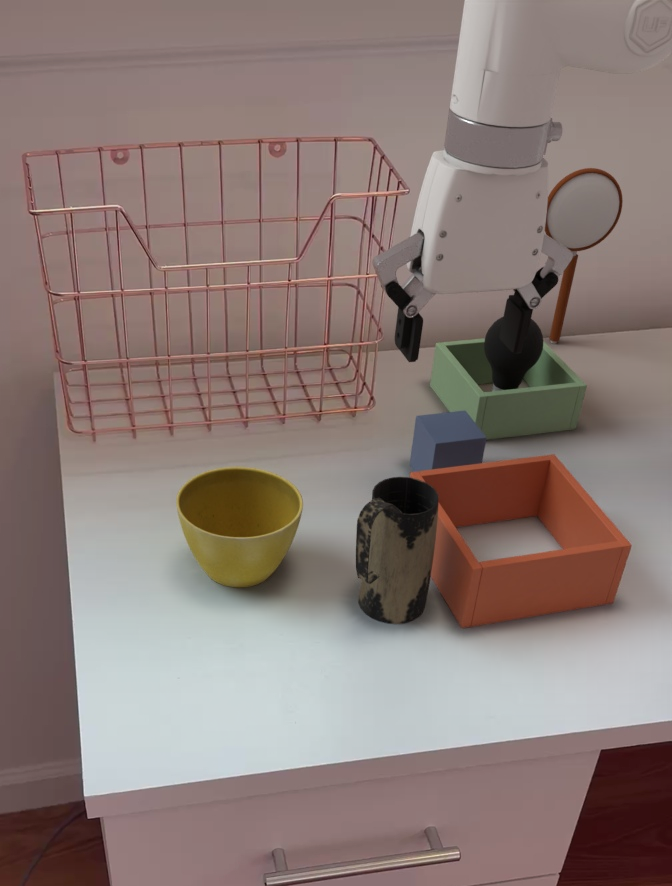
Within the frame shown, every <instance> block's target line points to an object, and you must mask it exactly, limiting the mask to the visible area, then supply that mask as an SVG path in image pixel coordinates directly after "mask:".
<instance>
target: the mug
mask: <svg viewBox="0 0 672 886" xmlns="http://www.w3.org/2000/svg"><path fill="white" fill-rule="evenodd" d="M371 495H372V496H371V500H370V501H369V502H367V503H366V504H365V505H364V506H363V508H362V509H361V510H360V512H359V515H358V517H357V519H356V536H355V537H356V538H355V570H356V575H357V579H359V580H361V583H360V586H359V587H360V588H359V592H358V596H357V597H358V598H357V600H358V601H357V603H358V605H359V608H360V609H361V611H362V612H363V613H364V614H365V615H366V616H368V617H369V618H370V619H372V620H374V621H377V622H380V623H384V624H390V625H400V624H401V625H402V624H406V623H410V622H413V621H415V620H416V619H418V618H420V617H421V615H422V614H423V613H424V610H425V608H426V604H427V598H428V595H429V590H430V582H431V570H432V564H433V557H434V549H435V540H436V530H437V521H438V502H439V498H438V494H437V492H436V490H435V489H434V488H433V487H432V486H431V485H429V484H427V483H426V482H424V481H421V480H418V479H415V478H410V476H409V477H408V476H394V477H388V478H385V479H382V480H381V481H378V483H377V484H375V485H374V487H373V488H372V492H371Z"/></svg>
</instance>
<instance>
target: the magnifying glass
mask: <svg viewBox="0 0 672 886" xmlns="http://www.w3.org/2000/svg"><path fill="white" fill-rule="evenodd" d="M623 201H624V200H623V193H622V189H621V187H620V184H619V183H618V181H617V180H616V178H615V177H614V176H613V175H612V174H611V173H609V172H607V171H606V170H603V169H600V168H596V167H595V168H594V167H585V168H581V169H578V170H574V171H573V172H571V173H569V174H567V175H566V176H565V177H563V178H562V179H561V180H560V181H558V182H557V183H556V184H555V186H554V187H553V188H552V190H551V191H550V192H549V193H548V202H547V214H546V224H545V231H544V234H546V235H547V236H549V237H551V238H552V239H554V240H556V241H557V242H559V243H561V244H562V245H564V246H565V247H567V248H568V249H569V250H570V251H571V252H572V253H573V258H572V260H571V261H570V263H569V264H568V266H567V267H566V269H565V270H564V272H563V273H562V277H561V280H560V281H561V282H560V286H559V291H558V296H557V301H556V305H555V310H554V314H553V319H552V323H551V328H550V333H549V337H548V339H549V341H550V343H551V344H555V345H556V344H557V343H558V342H560V339H561V335H562V330H563V326H564V321H565V317H566V312H567V308H568V305H569V304H568V303H569V298H570V295H571V289H572V286H573V281H574V278H575V277H574V276H575V272H576V267H577V262H578V259H579V254H578V252H582V251H586V250H589V249H592V248H594V247H595V246H597V245H599V244H600V243H602V242H603V241H605V239H606V238H607V237H609V235H610V234H611V233H612V232H613V230H614V229H615V227H616V225H617V224H618V222H619V220H620V218H621V214H622V210H623Z"/></svg>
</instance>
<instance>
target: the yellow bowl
mask: <svg viewBox="0 0 672 886" xmlns="http://www.w3.org/2000/svg"><path fill="white" fill-rule="evenodd" d="M175 507H176V511H177V515H178V520H179V523H180V527H181V530H182V534H183V536H184V538H185V541H186V543H187V545H188V547H189V550H190V552H191V553H192V556H193V557H194V558H195V560H196V562H197V563H198V565H199V566H200V568H201V569H202V570H203V571H204V572H205V574H206V575H207V576H208V577H209V578H210V579H211V580H212V581H214V582H215V583H217V584H220V585H222V586H225V587H230V588H250V587H254V586H257V585H259V584H261V583H263V582H265V581H266V580H267V579H269V578H270V576H272V574H273V573H274V572H275V571H276V570H277V568H279V565H280V564H282V562H283V560H284V558H285V556H286V555H287V553H288V551H289V550H290V548H291V545H292V543H293V541H294V539H295V536H296V534H297V531H298V529H299V525H300V522H301V518H302V514H303V510H304V500H303V496H302V494H301V492H300V490H299V488H297V487H296V486H295V485H294V483H292V482H291V481H290V480H288V479H287V478H285V477H283V476H282V475H281V476H280V475H278V474H277V473H274V472H272V471H268V470H265V469H261V468H256V467H247V466H226V467H219V468H215V469H210V470H207V471H203V472H201V473H199V474H197V475H195V476H193V477H191V478H190V479H188V480H187V481H186V482H185V483H184V484H183V485H182V486H181V487H180V489H179V490H178V492H177V495H176V498H175Z"/></svg>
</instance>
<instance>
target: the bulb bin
mask: <svg viewBox="0 0 672 886" xmlns="http://www.w3.org/2000/svg"><path fill="white" fill-rule="evenodd" d="M484 341H485V337H483V338H475V339H463V340H462V339H461V340H453V341H443V342H441V341H440V342H436V343H435V348H434V354H433V360H432V361H433V362H432V368H431V375H430V381H429V386H430V388H431V389H432V390H433V392H434V393H435V394H436V396H437V397H438V399H439V400H440V402H441V403H442V404H443V405H444V407H445V408H446V409H447V411H448V412H455V411H464V410H465V411H466V412H467V413H468V414H469V416H470V417H471V418H472V419H473V421H474V422H475V423H476V425H477V426H478V427H479V428H480V430H481V431H482V432H483V434H484V435H485V436H486V441H489V440H496V439H504V438H513V437H520V436H521V437H522V436H529V435H530V436H531V435H538V434H546V433H547V434H548V433H555V432H564V431H570V430H571V431H572V430H576V429H577V426H578V422H579V418H580V415H581V410H582V407H583V402H584V398H585V394H586V390H587V384H586V383H585V382H584V380H582V378H581V377H580V376H579V375H577V373H575V372H574V370H573V369H571V368H570V367H569V365H568V364H566V362H564V361H563V359H562V358H560V356H559V355H558V354H557V353H556V352H555V351H554V350H553V349H552V348H551V347H550V346H549V345H548V344H547V343H546V341H544V340H543V350H542V354H541V356H540V358H539V360H538V361H537V362H536V364H535V365H534V366H533V367H531V368H530V369H529V370H528V371H527V372H526V373H525V375H524V377H523V379H522V381H524V382H525V383H526V384H527V385H528V386H529V387H519V388H517V389H510V390H501V391H492V390H491V391H484V390H483V389H482V388H481V387H480V386H479V385H483V384H484V385H485V384H493V380H492V368H491V365H490V363H489V362H488V360H487V358H486V355H485V351H484Z"/></svg>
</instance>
